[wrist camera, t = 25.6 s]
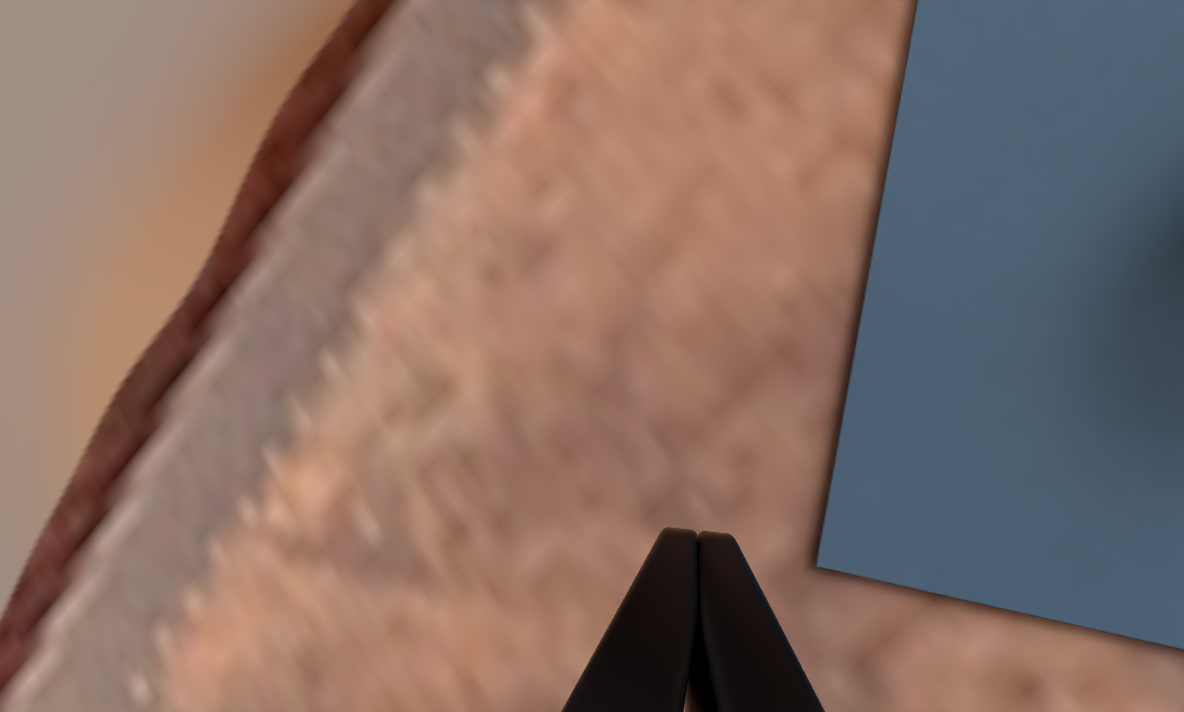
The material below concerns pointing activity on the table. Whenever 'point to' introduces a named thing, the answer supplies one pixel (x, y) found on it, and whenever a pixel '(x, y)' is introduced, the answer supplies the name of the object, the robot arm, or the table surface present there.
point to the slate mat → (1026, 321)
